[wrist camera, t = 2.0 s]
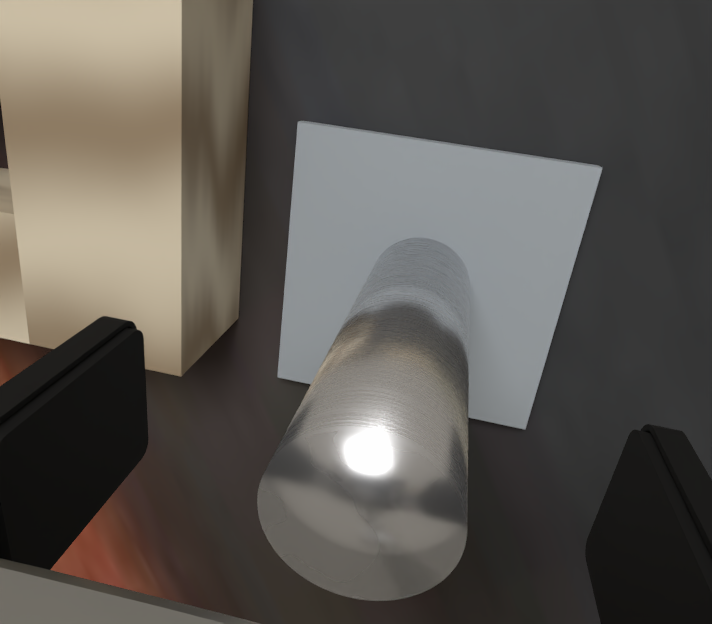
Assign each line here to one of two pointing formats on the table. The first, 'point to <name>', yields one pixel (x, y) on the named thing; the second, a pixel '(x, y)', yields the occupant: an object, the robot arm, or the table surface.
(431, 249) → the peg
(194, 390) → the table surface
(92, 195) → the hole block
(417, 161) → the mat
